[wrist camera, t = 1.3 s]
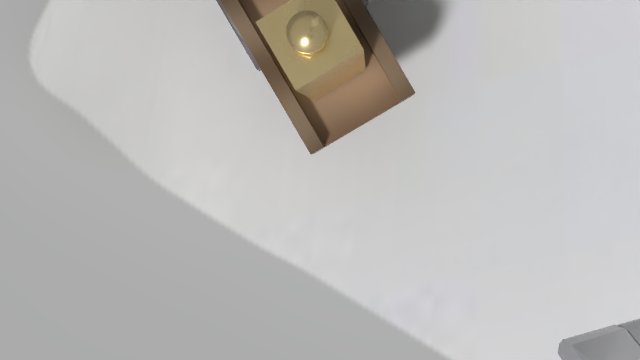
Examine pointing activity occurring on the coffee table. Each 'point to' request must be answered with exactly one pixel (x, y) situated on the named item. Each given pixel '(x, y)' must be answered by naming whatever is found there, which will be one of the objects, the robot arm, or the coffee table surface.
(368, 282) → the coffee table surface
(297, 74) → the brass rider
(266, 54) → the balance beam
